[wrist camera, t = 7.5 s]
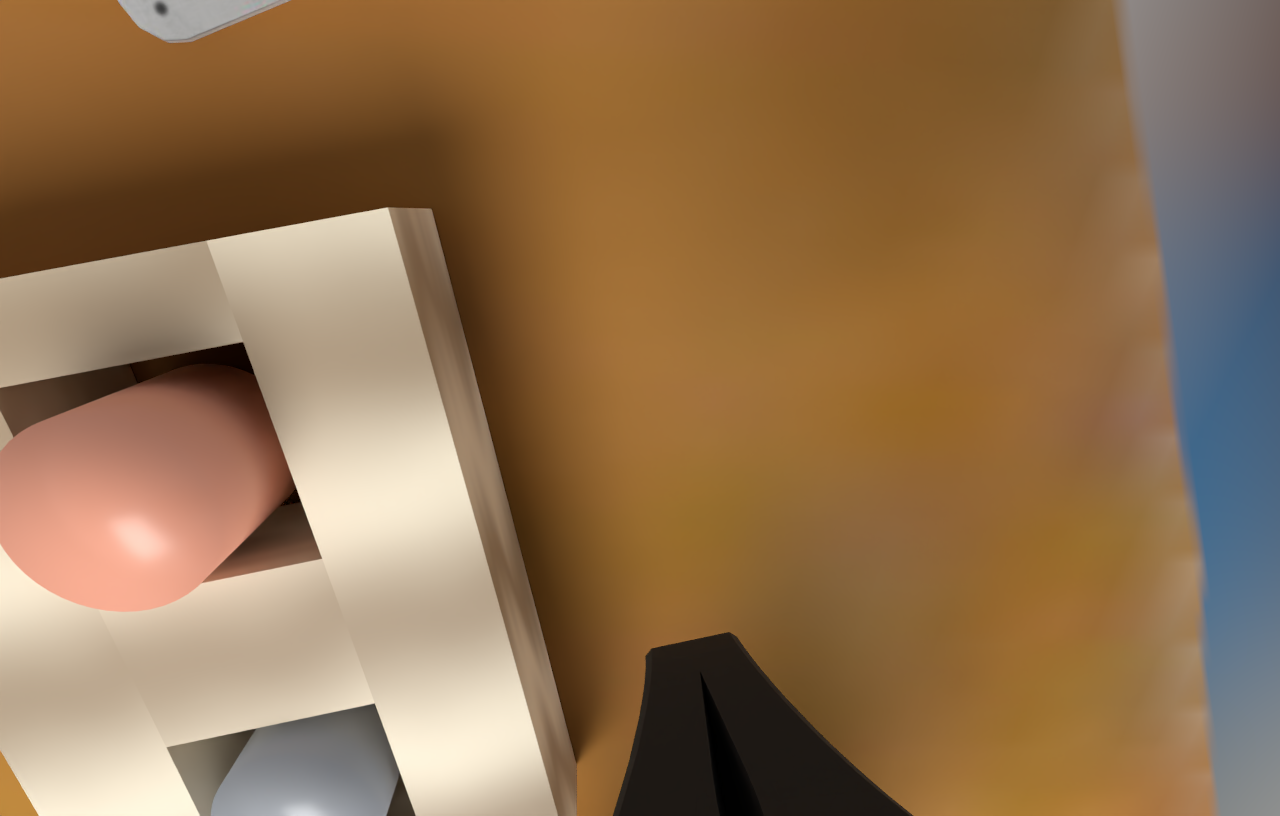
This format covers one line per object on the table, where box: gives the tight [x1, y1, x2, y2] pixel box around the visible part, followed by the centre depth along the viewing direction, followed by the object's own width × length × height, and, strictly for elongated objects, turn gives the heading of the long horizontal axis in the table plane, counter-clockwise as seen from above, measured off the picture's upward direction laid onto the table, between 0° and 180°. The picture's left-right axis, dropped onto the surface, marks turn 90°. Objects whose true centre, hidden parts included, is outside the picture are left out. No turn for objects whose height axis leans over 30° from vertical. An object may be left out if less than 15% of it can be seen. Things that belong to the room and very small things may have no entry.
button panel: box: [0, 207, 577, 816], centre depth 17 cm, size 18×12×4 cm, turn 10°
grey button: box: [211, 703, 400, 816], centre depth 18 cm, size 4×4×4 cm
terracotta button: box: [0, 364, 296, 612], centre depth 14 cm, size 4×4×4 cm
